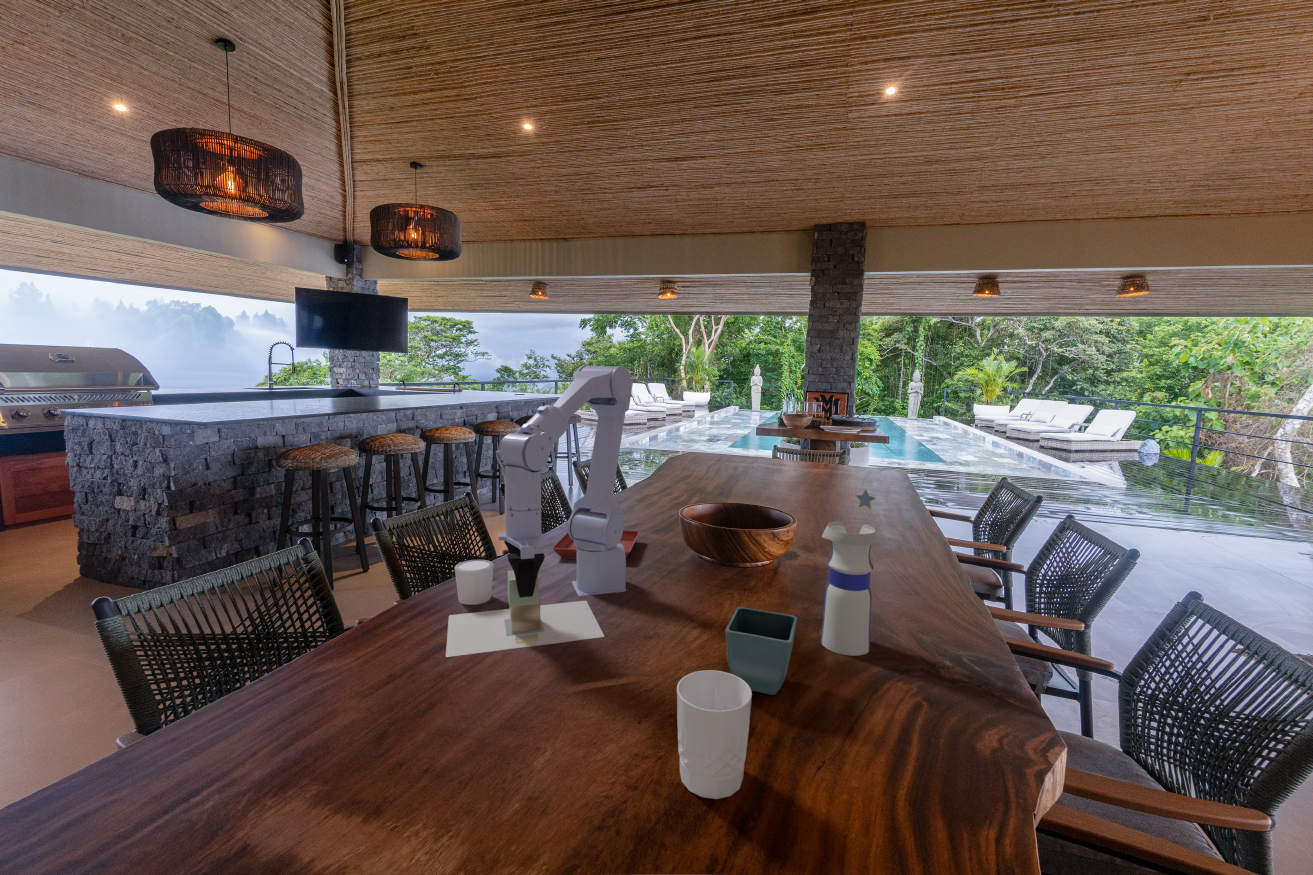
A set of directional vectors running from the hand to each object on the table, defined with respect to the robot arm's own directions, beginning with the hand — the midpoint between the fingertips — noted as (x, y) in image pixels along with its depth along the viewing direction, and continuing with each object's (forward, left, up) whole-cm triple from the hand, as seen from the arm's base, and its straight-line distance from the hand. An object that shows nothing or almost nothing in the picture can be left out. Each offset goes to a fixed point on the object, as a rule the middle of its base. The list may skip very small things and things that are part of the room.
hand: (523, 587), depth 94 cm
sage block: (0, 0, -2) cm, 2 cm away
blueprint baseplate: (0, 0, -7) cm, 7 cm away
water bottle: (-49, +19, -7) cm, 53 cm away
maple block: (0, 0, -6) cm, 7 cm away
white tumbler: (+8, -14, -7) cm, 18 cm away
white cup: (-16, +41, -7) cm, 45 cm away
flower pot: (-30, +26, -7) cm, 40 cm away
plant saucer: (-21, -38, -8) cm, 44 cm away
